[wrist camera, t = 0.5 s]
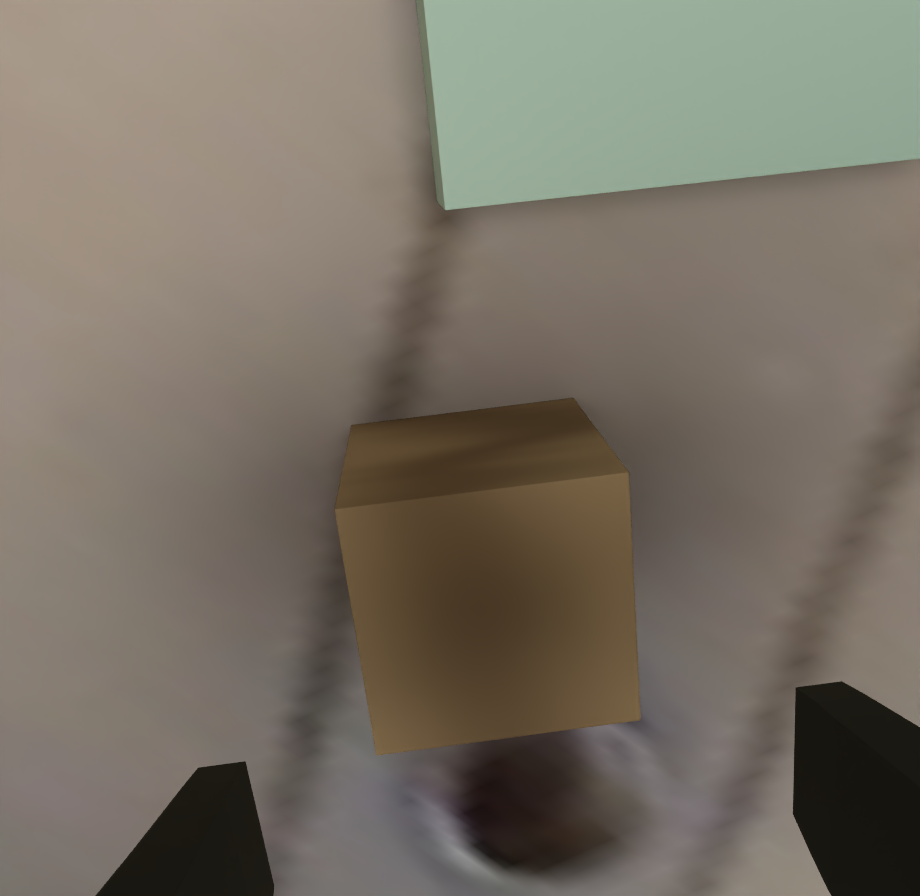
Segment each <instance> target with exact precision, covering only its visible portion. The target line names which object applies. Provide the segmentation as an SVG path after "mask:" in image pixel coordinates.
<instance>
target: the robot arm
mask: <svg viewBox="0 0 920 896" xmlns="http://www.w3.org/2000/svg"><path fill="white" fill-rule="evenodd" d="M793 815H794V817H795V820H796V822H797V824H798V826H799V828H800V831H801V833H802V835H803V837H804V840H805V842H806V844H807V846H808V849H809V851H810V853H811V855H812V857H813V859H814V861H815V864H816V866H817V868H818V870H819V872H820V874H821V876H822V878H823V880H824V882H825V884H826V886H827V889H828V891H829V892H830V894H831V896H920V727H918V726H917V725H915V724H913V723H912V722H910V721H908V720H907V719H905V718H903V717H902V716H900V715H898V714H897V713H895V712H893V711H892V710H890V709H888V708H887V707H885V706H884V705H882V704H880V703H879V702H877V701H875V700H874V699H872V698H870V697H868V696H867V695H865V694H863V693H862V692H860V691H858V690H856V689H855V688H853V687H851V686H849V685H847V684H845V683H844V682H842V681H841V682H834V683H826V684H819V685H812V686H804V687H797V688H796V702H795V747H794V793H793ZM273 893H274V883H273V879H272V875H271V870H270V866H269V862H268V857H267V853H266V849H265V844H264V840H263V836H262V831H261V827H260V823H259V818H258V814H257V810H256V805H255V801H254V797H253V792H252V788H251V784H250V779H249V775H248V771H247V766H246V762H238V763H230V764H223V765H215V766H208V767H201V768H198V769H197V770H196V771H195V772H194V774H193V775H192V776H191V777H190V778H189V780H188V781H187V782H186V783H185V785H184V786H183V787H182V788H181V789H180V791H179V792H178V793H177V794H176V796H175V797H174V798H173V800H172V801H171V802H170V803H169V805H168V806H167V807H166V809H165V810H164V811H163V812H162V814H161V815H160V816H159V817H158V819H157V820H156V821H155V823H154V824H153V825H152V826H151V828H150V829H149V830H148V832H147V833H146V834H145V835H144V837H143V838H142V839H141V840H140V842H139V843H138V844H137V845H136V847H135V848H134V849H133V851H132V852H131V853H130V854H129V856H128V857H127V858H126V859H125V860H124V862H123V863H122V864H121V865H120V867H119V868H118V869H117V870H116V871H115V873H114V874H113V875H112V876H111V877H110V879H109V880H108V881H107V882H106V884H105V885H104V886H103V887H102V888H101V890H100V891H99V892H98V893H97V895H96V896H273Z"/></svg>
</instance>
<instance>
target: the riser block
mask: <svg viewBox="0 0 920 896" xmlns="http://www.w3.org/2000/svg"><path fill="white" fill-rule="evenodd" d="M416 7H417V16H418V26H419V35H420V45H421V54H422V64H423V73H424V83H425V92H426V101H427V111H428V120H429V130H430V139H431V149H432V158H433V168H434V177H435V186H436V196H437V202H438V203H439V204H440V205H441V206H442V207H443V208H444V209H445V210H452V209H461V208H470V207H479V206H488V205H498V204H507V203H516V202H525V201H534V200H544V199H553V198H562V197H571V196H580V195H590V194H599V193H608V192H617V191H627V190H636V189H645V188H654V187H663V186H673V185H682V184H691V183H700V182H709V181H719V180H728V179H737V178H746V177H755V176H765V175H774V174H783V173H792V172H802V171H811V170H820V169H829V168H838V167H848V166H857V165H866V164H875V163H884V162H894V161H903V160H912V159H920V0H416Z"/></svg>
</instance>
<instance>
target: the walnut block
mask: <svg viewBox="0 0 920 896" xmlns="http://www.w3.org/2000/svg"><path fill="white" fill-rule="evenodd" d="M335 515H336V521H337V527H338V533H339V539H340V544H341V550H342V556H343V562H344V568H345V574H346V580H347V586H348V591H349V597H350V603H351V609H352V615H353V621H354V627H355V633H356V638H357V644H358V650H359V656H360V662H361V668H362V674H363V680H364V686H365V691H366V697H367V703H368V709H369V715H370V721H371V727H372V733H373V738H374V744H375V750H376V755H383V754H391V753H398V752H406V751H413V750H421V749H428V748H436V747H443V746H451V745H458V744H466V743H473V742H481V741H488V740H496V739H503V738H510V737H518V736H525V735H533V734H540V733H548V732H555V731H563V730H570V729H578V728H585V727H593V726H600V725H608V724H615V723H623V722H630V721H638V720H641V718H640V697H639V676H638V655H637V634H636V613H635V592H634V572H633V551H632V530H631V509H630V488H629V472H628V471H627V469H626V468H625V467H624V465H623V464H622V463H621V461H620V460H619V459H618V457H617V456H616V455H615V453H614V452H613V451H612V449H611V448H610V447H609V445H608V444H607V443H606V441H605V440H604V439H603V437H602V436H601V435H600V433H599V432H598V431H597V429H596V428H595V427H594V425H593V424H592V423H591V421H590V420H589V419H588V417H587V416H586V415H585V413H584V412H583V411H582V409H581V408H580V406H579V405H578V404H577V402H576V401H575V400H574V398H568V399H560V400H552V401H544V402H535V403H527V404H519V405H511V406H503V407H495V408H487V409H479V410H471V411H462V412H454V413H446V414H438V415H430V416H422V417H414V418H406V419H398V420H389V421H381V422H373V423H365V424H357V425H352V426H351V431H350V436H349V441H348V445H347V450H346V455H345V460H344V465H343V470H342V475H341V480H340V485H339V490H338V495H337V500H336V505H335Z"/></svg>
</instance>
